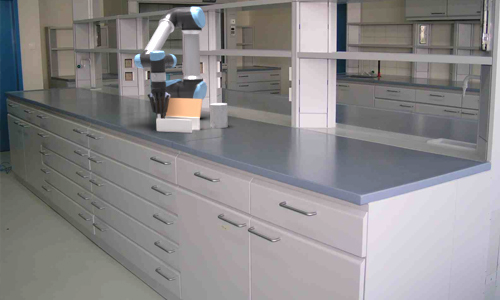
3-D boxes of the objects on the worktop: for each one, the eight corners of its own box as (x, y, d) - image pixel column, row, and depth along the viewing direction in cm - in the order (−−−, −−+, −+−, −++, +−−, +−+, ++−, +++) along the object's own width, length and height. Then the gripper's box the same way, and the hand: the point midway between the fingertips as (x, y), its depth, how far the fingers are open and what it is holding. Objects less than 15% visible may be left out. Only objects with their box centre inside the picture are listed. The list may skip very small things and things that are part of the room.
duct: (166, 128, 294) (165, 116, 292) (199, 129, 286) (199, 117, 285) (156, 131, 284) (156, 118, 283) (191, 132, 277) (190, 120, 276)
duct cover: (165, 116, 292) (166, 116, 293) (199, 117, 285) (200, 118, 286) (168, 97, 294) (169, 98, 295) (201, 98, 286) (202, 99, 287)
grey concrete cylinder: (216, 128, 290) (215, 105, 288) (206, 126, 298) (206, 103, 295) (231, 126, 295) (230, 104, 293) (221, 124, 303) (221, 102, 301)
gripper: (143, 81, 283) (146, 126, 288) (165, 81, 278) (167, 127, 283) (151, 80, 290) (153, 124, 294) (173, 80, 285) (174, 125, 290)
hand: (160, 125), depth 289 cm, fingers closed
